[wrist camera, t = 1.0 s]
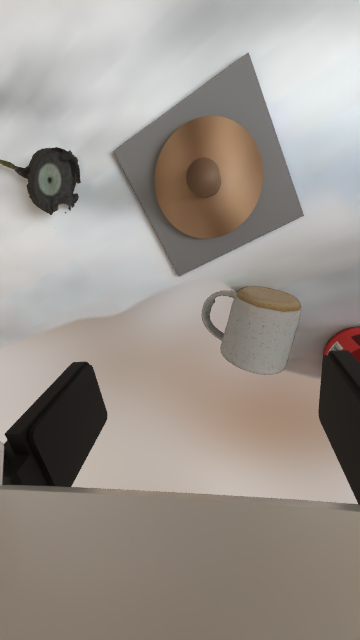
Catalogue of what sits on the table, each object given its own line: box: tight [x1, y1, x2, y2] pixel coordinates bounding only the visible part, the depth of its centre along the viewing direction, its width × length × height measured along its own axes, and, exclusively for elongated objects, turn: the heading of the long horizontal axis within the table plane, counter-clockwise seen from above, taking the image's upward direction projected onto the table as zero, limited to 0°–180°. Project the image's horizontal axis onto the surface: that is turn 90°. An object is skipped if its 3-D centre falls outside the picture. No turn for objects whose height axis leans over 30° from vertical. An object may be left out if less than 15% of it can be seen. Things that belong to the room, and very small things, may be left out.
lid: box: [155, 116, 263, 239], centre depth 24 cm, size 11×11×6 cm
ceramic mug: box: [202, 286, 301, 375], centre depth 30 cm, size 11×8×8 cm
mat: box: [114, 53, 304, 276], centre depth 27 cm, size 15×15×1 cm
